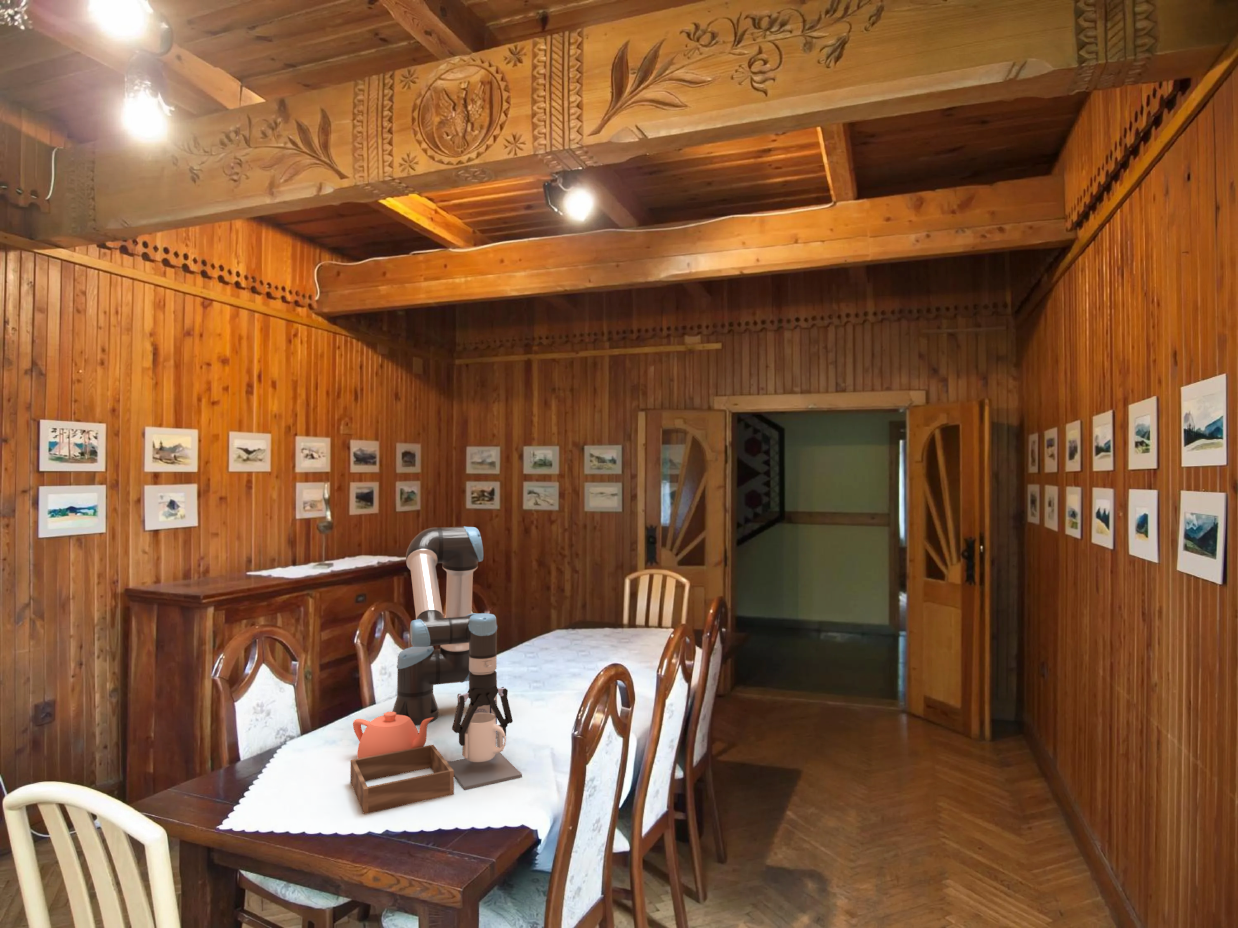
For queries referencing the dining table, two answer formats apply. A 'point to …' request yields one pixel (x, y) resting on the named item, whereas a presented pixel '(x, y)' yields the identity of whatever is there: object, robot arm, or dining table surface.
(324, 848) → the dining table surface
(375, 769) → the walnut caddy
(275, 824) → the dining table surface
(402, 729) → the teapot
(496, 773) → the slate trivet
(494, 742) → the mug
